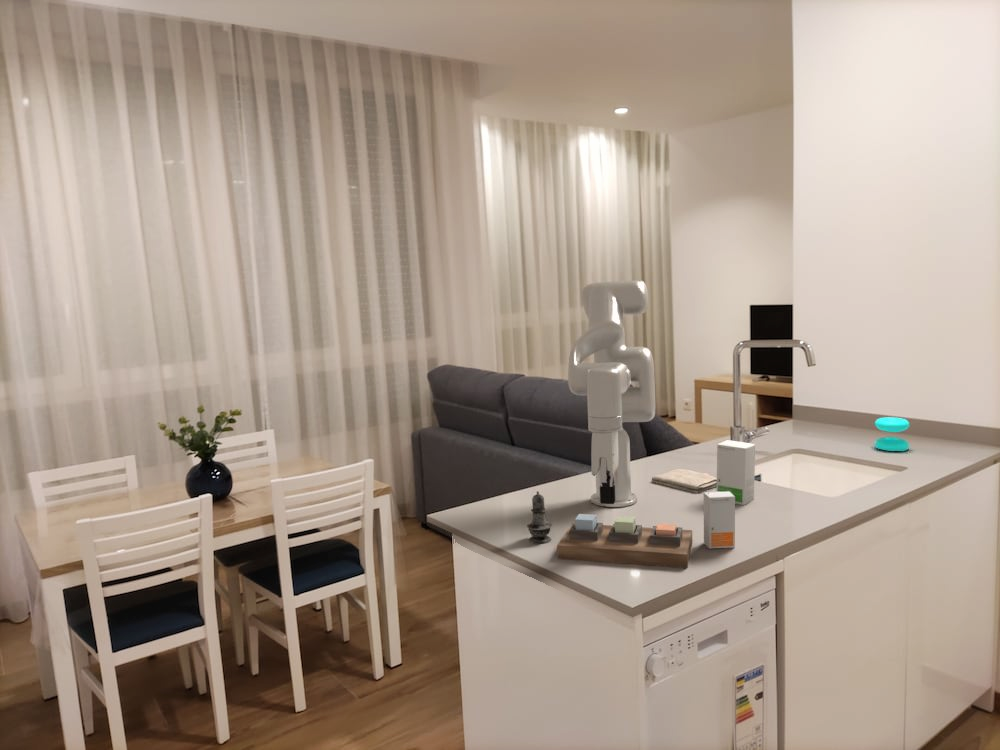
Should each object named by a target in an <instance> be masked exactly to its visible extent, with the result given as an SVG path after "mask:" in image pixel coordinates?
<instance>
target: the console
mask: <svg viewBox="0 0 1000 750" xmlns="http://www.w3.org/2000/svg"><path fill="white" fill-rule="evenodd" d="M656 528H657V525H653V526H652V527H644V526H643V525H642V524H636V528H635V531H634V533H620V532H615V523H613V525H608V524H607V525H606V524H603V522H596V527H595V529H594V531H587V530H576V528H575V522H573V523H571V525H570V526H569V528H568V529H567V531H566V532H565V533H564V535H563V536H562V537H561V539H560V541H559V542H558V543H557V545H556V547H557V553H556V554H557V559H563V560H576V561H586V562H587V561H590V562H600V561H601V562H603V563H605V562H606V563H614V562H621V563H620V564H627V563H635V564H634V565H640V564H647V565H646V566H653V565H659V566H658V567H667V566H669V567H671V568H683V569H688V567H689V561H690V556H691V552H692V547H693V530H692V529H683V527H679V526H676V536H668V535H656Z"/></svg>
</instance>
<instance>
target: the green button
mask: <svg viewBox="0 0 1000 750" xmlns="http://www.w3.org/2000/svg"><path fill="white" fill-rule="evenodd" d="M636 523H637V522H636V516H626V515H625V516H624V515H617V516H616V518H615V520H614V524H615V532H620V533H634V531H635V528H636V525H637V524H636Z"/></svg>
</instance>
